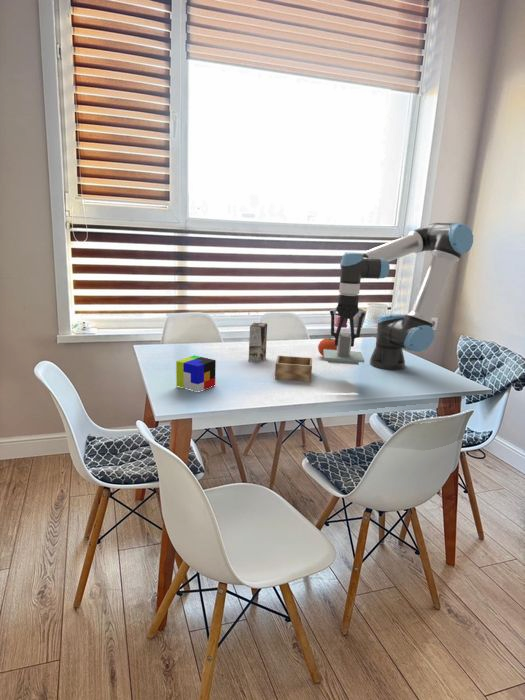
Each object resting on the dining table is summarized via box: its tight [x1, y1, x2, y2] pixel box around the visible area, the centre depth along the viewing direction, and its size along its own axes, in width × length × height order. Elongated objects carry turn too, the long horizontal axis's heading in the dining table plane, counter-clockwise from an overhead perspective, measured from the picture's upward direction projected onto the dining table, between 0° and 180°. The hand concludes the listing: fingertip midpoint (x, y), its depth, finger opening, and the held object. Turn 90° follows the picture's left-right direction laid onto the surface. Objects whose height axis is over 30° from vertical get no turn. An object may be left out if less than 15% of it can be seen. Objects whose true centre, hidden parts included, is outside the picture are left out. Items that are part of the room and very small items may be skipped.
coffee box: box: [248, 322, 268, 363], centre depth 208 cm, size 9×6×16 cm
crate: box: [274, 355, 313, 383], centre depth 186 cm, size 14×12×7 cm
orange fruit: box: [317, 337, 337, 357], centre depth 217 cm, size 10×10×10 cm
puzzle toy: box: [175, 354, 217, 392], centre depth 171 cm, size 10×10×10 cm
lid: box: [323, 332, 365, 366], centre depth 182 cm, size 15×13×10 cm
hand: (343, 353), depth 183 cm, fingers closed on lid, 3 cm apart
